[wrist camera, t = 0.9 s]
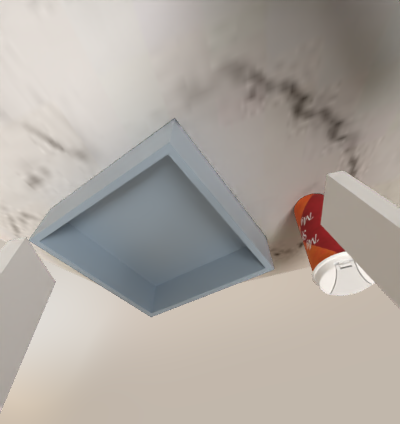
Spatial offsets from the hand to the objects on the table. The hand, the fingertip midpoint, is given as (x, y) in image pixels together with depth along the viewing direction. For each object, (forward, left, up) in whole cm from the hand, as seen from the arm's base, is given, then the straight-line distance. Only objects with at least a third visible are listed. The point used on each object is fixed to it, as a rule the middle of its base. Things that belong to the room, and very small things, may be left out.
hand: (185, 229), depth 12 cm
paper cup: (-4, +26, -25) cm, 36 cm away
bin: (+18, +15, -25) cm, 34 cm away
